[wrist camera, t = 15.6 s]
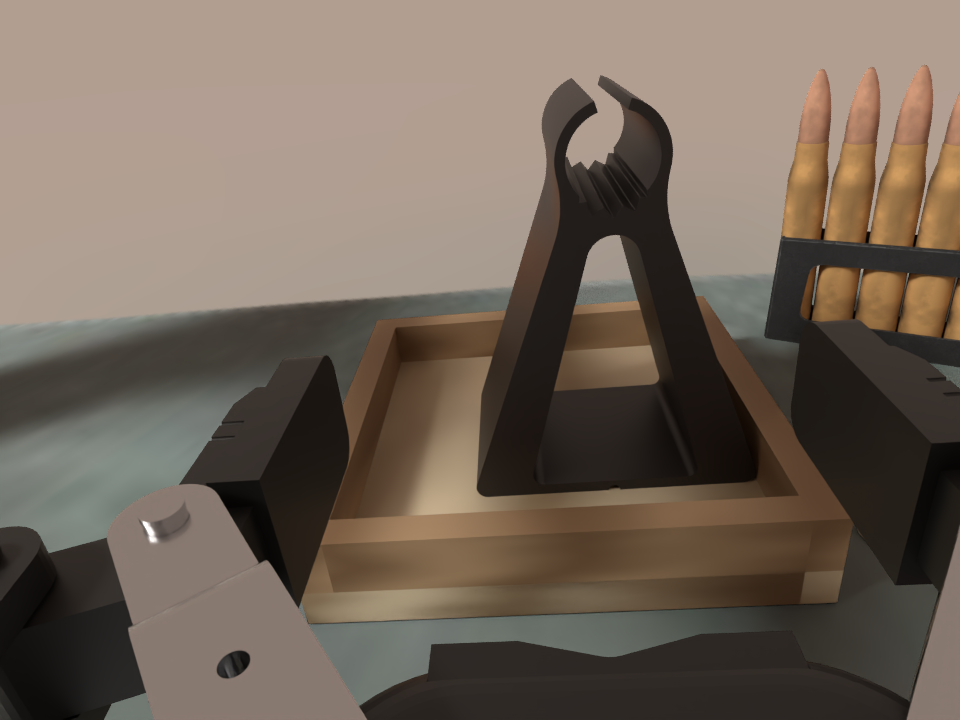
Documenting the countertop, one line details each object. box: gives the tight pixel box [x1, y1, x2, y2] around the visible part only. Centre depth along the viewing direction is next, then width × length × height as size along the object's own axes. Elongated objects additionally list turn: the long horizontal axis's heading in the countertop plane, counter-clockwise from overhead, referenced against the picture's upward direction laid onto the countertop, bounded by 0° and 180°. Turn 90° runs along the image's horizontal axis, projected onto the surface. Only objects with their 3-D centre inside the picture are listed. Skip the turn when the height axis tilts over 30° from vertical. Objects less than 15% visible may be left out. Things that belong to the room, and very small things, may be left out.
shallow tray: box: [301, 296, 853, 624], centre depth 25 cm, size 15×15×3 cm
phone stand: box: [477, 76, 756, 497], centre depth 22 cm, size 9×6×12 cm, turn 88°
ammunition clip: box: [764, 65, 960, 367], centre depth 28 cm, size 11×2×12 cm, turn 58°
